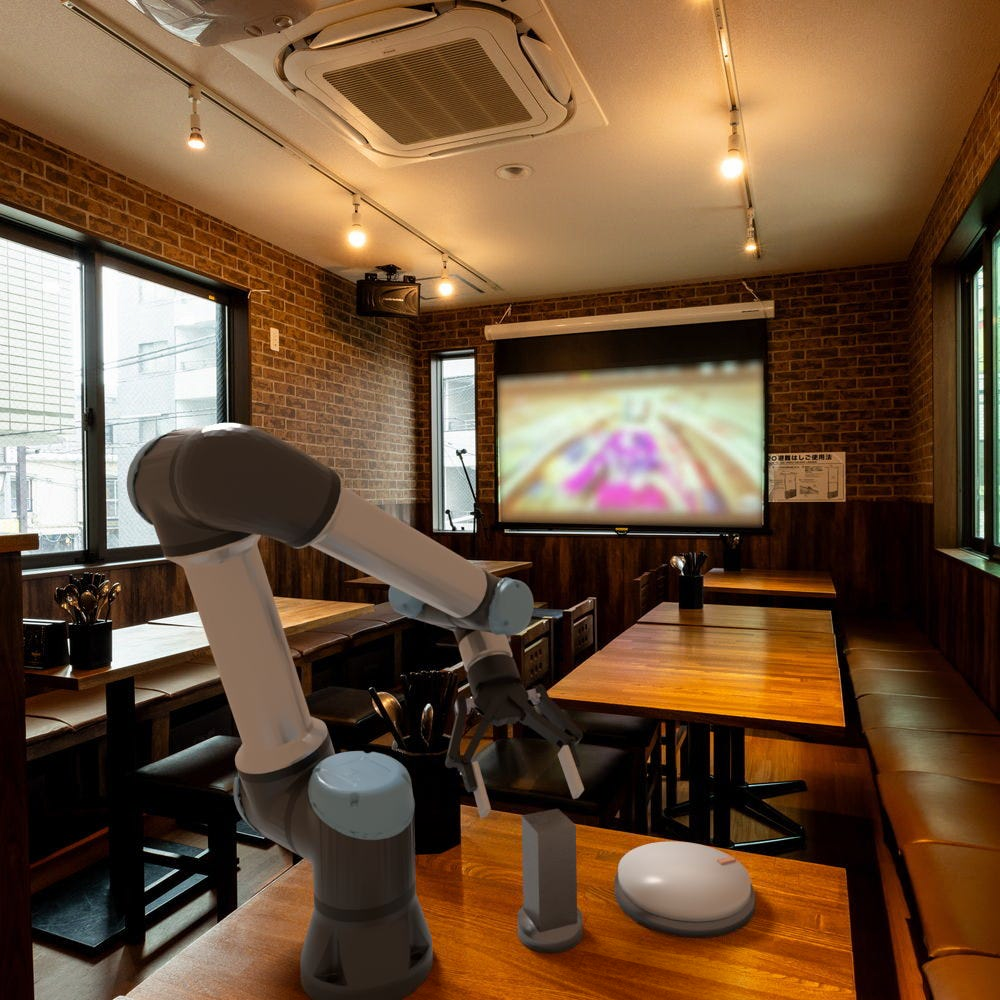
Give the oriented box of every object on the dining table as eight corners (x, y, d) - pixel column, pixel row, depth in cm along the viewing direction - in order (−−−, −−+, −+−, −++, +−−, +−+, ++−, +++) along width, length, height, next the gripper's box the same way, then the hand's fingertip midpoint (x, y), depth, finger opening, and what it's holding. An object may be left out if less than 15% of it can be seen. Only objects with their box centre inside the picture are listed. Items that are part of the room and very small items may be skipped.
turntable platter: (665, 935, 88) (664, 920, 88) (595, 867, 104) (595, 854, 103) (779, 902, 94) (779, 888, 94) (697, 842, 110) (697, 830, 110)
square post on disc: (533, 959, 87) (531, 841, 86) (508, 921, 94) (506, 812, 94) (594, 943, 89) (592, 828, 89) (565, 907, 97) (563, 801, 96)
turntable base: (664, 953, 87) (663, 940, 87) (591, 878, 104) (590, 867, 104) (785, 916, 94) (785, 904, 94) (698, 851, 110) (698, 841, 110)
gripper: (556, 668, 119) (605, 797, 106) (405, 688, 110) (438, 833, 97) (571, 642, 114) (624, 775, 101) (413, 661, 105) (449, 810, 92)
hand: (533, 804), depth 99 cm, fingers open, 13 cm apart
